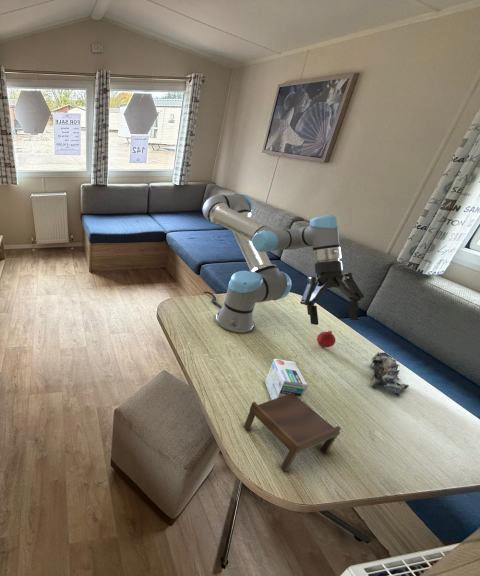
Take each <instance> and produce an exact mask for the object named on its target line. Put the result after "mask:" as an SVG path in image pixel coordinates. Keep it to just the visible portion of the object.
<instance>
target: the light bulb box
mask: <svg viewBox="0 0 480 576" xmlns="http://www.w3.org/2000/svg"><path fill="white" fill-rule="evenodd" d="M264 384H265V387H266V389H267V392H268V395H269V397H270V401H271V400H273V399H276V398H279V397H282V396H285V395H287V394H290V393H293V394H294V395H296V396H297V397H298V398H299V399H300V400H303V397H304V395H305V393H306V390H307V388H308V386H309V384H308V382H307V380H306V379H305V377H304V375H303V374H302V372H301V371H300V369H299V366H298V365H297V362H296V361H291V360H287V359H286V360H285V359H279V358H274V359H273V361H272V364H271V366H270V369H269V371H268V374H267V376H266V379H265V382H264Z"/></svg>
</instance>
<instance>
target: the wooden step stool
mask: <svg viewBox="0 0 480 576" xmlns="http://www.w3.org/2000/svg"><path fill="white" fill-rule="evenodd" d="M255 417H256V418H257V419H258V421H260V422H261V423H262V424H263V425H264V427H265V428H266V429H267V430H268V431H269V432H270V433H272V435H273V436H275V438H277V440H278V441H279V442H280V443H281V444H282V445H283V446H284V447H285V448H286V449H287V450H288V452H287V454H286V456H285V458H284V460H283V462H282V464H281V465H280V469H281V470H282V471H283V472H284V473H286V472H287V471H289V469H290V467H291V466H292V464H293V462H294V461H295V458H296V456H297V455H298V454H300V453H301V452H304V451H306V450H309V449H310V448H313V447H315V446H317V445H320V444H322V443H323V444H322V445H321V448H320V451H321V452H323V453H324V454H327V453H328V452H329V451H330V449H331V447H332V446H333V444H334V443H335V440H336V439H337V438H338V436H340V434H341V432H340V431H341V430H342V427H341V426H339V425H337V426H333V425H332V424H331V423H329V422H328V420H327V419H324V417H322V416H321V415H320V414H319V413H317V412H316V411H315V410H314V409H313V408H311V407H310V406H309V405H308V404H307V403H305V402H304V401H303V399H301V400H300V399H299V398H298V397H297V396H296V395H294V394H293V393H290V394H287V395H285V396H282V397H279V398H276V399H273V400H271V399H270V400H268V401H265V402H261V403H260V404H258V403H257V402H256V401H252V403H251V405H250V409H249V412H248V415H247V417H246V419H245V422H244V425H243V428H244V429H245V430H246V431H248V430H251V427H252V425H253V422H254V420H255Z"/></svg>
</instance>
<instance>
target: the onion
mask: <svg viewBox="0 0 480 576" xmlns="http://www.w3.org/2000/svg"><path fill="white" fill-rule="evenodd" d="M316 342H317V344H318V345H319V346H320V347H321V348H330V347H331V348H332V347H333V346H334V345H335V344H336V337H335V335H334V334H333V331H332V330H331V329H330V330H327V331H321V332H320V333H319V334H318V335H317V336H316Z"/></svg>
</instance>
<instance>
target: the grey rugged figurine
mask: <svg viewBox="0 0 480 576" xmlns="http://www.w3.org/2000/svg"><path fill="white" fill-rule="evenodd" d="M398 361H399V360H397V359H396V358H395V357H393V356H391V355H389V354H388V353H387V352H385V351H384V352H380V351H378V352H376V353H375V354H374V356H373V355H371V363H370V368H372V369H373V373H372V374H371V379H370V385H371V387H372V388H373V389H375V388H376V387H383V388H385V390H387V388H391V389H395V390H394V391H395V395H397V396H399V397H400V396H401V394H402V392H403V391H404V390H407V389H408V388H409V386H410V385H409V384H404V383H400V382H402V379H401V378H399V376H400V375H399V374H400V369H398V368H400V367H401V366H400V364H398Z"/></svg>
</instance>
